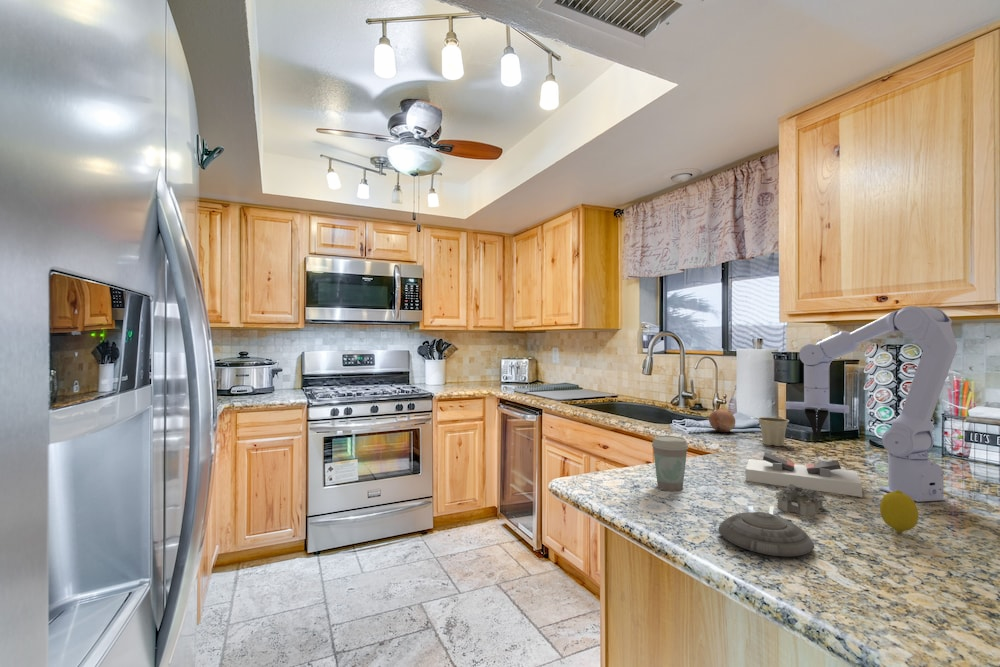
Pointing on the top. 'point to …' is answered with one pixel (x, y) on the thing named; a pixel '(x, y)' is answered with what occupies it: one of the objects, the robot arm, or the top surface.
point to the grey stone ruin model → (799, 500)
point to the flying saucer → (766, 534)
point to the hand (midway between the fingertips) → (816, 437)
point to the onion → (722, 420)
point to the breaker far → (778, 461)
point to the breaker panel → (805, 477)
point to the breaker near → (823, 466)
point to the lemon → (899, 511)
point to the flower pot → (773, 430)
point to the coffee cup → (670, 461)
